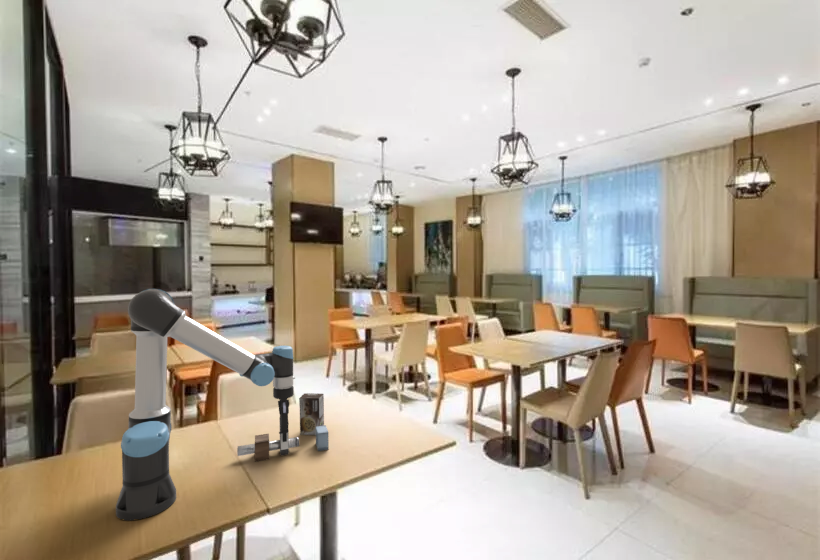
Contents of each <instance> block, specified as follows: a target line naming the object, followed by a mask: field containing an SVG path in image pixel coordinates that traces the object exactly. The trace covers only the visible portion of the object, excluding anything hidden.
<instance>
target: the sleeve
mask: <svg viewBox="0 0 820 560" xmlns="http://www.w3.org/2000/svg"><path fill="white" fill-rule="evenodd" d="M269 441H270V434H269V433H264V434H258V435H254V444H255V453H254V462H262V461H268V460H270V451H269Z"/></svg>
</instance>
